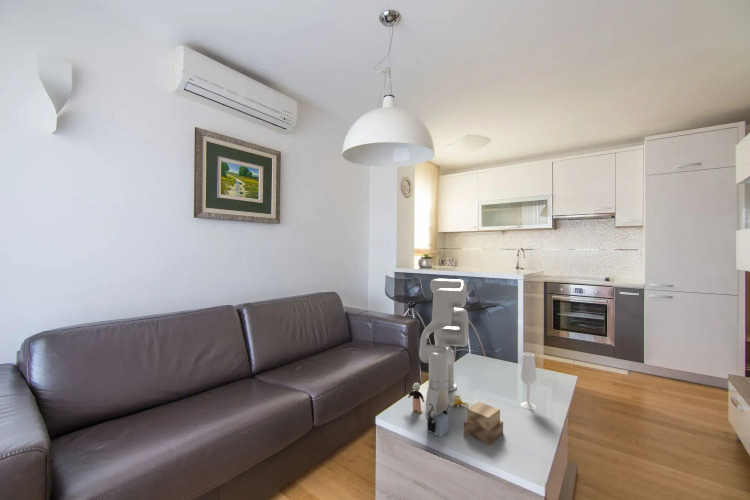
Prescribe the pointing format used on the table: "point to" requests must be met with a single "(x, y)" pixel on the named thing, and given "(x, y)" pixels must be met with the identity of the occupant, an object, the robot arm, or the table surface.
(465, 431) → the tower bottom
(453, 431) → the table surface
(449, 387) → the robot arm
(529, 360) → the champagne flute
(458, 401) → the character toy
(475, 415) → the tower top
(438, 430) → the blue cube
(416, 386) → the grandmother figurine
